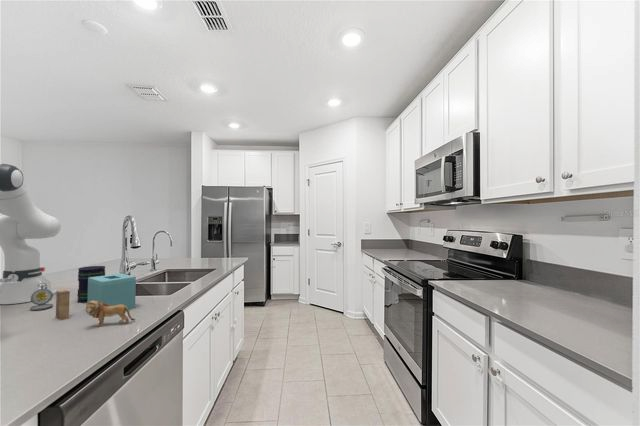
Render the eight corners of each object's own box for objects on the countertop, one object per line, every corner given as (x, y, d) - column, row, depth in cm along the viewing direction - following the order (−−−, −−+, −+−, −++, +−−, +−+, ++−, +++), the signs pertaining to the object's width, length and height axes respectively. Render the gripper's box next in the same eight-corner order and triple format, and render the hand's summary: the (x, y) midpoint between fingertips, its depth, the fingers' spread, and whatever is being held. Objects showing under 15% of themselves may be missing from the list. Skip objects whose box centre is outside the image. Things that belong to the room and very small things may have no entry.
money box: (87, 309, 116) (88, 277, 117) (120, 302, 126) (120, 273, 127) (101, 315, 109) (102, 281, 109) (135, 307, 119) (135, 276, 119)
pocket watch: (38, 311, 113) (39, 286, 113) (22, 310, 115) (23, 285, 115) (60, 305, 121) (61, 282, 121) (45, 304, 123) (46, 281, 123)
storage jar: (72, 301, 127) (72, 268, 127) (95, 296, 136) (96, 265, 136) (86, 304, 123) (87, 270, 124) (109, 298, 132) (110, 266, 133)
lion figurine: (82, 330, 94) (83, 303, 95) (87, 325, 99) (88, 299, 99) (134, 323, 101) (134, 298, 101) (136, 318, 105) (137, 294, 106)
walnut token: (55, 317, 106) (56, 290, 107) (64, 315, 108) (65, 289, 109) (60, 320, 104) (60, 292, 104) (68, 318, 106) (69, 291, 106)
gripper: (-46, 283, 79) (25, 275, 90) (-54, 276, 90) (10, 270, 102) (-47, 306, 79) (24, 295, 90) (-55, 296, 90) (9, 287, 101)
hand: (16, 282), depth 96 cm, fingers open, 8 cm apart
